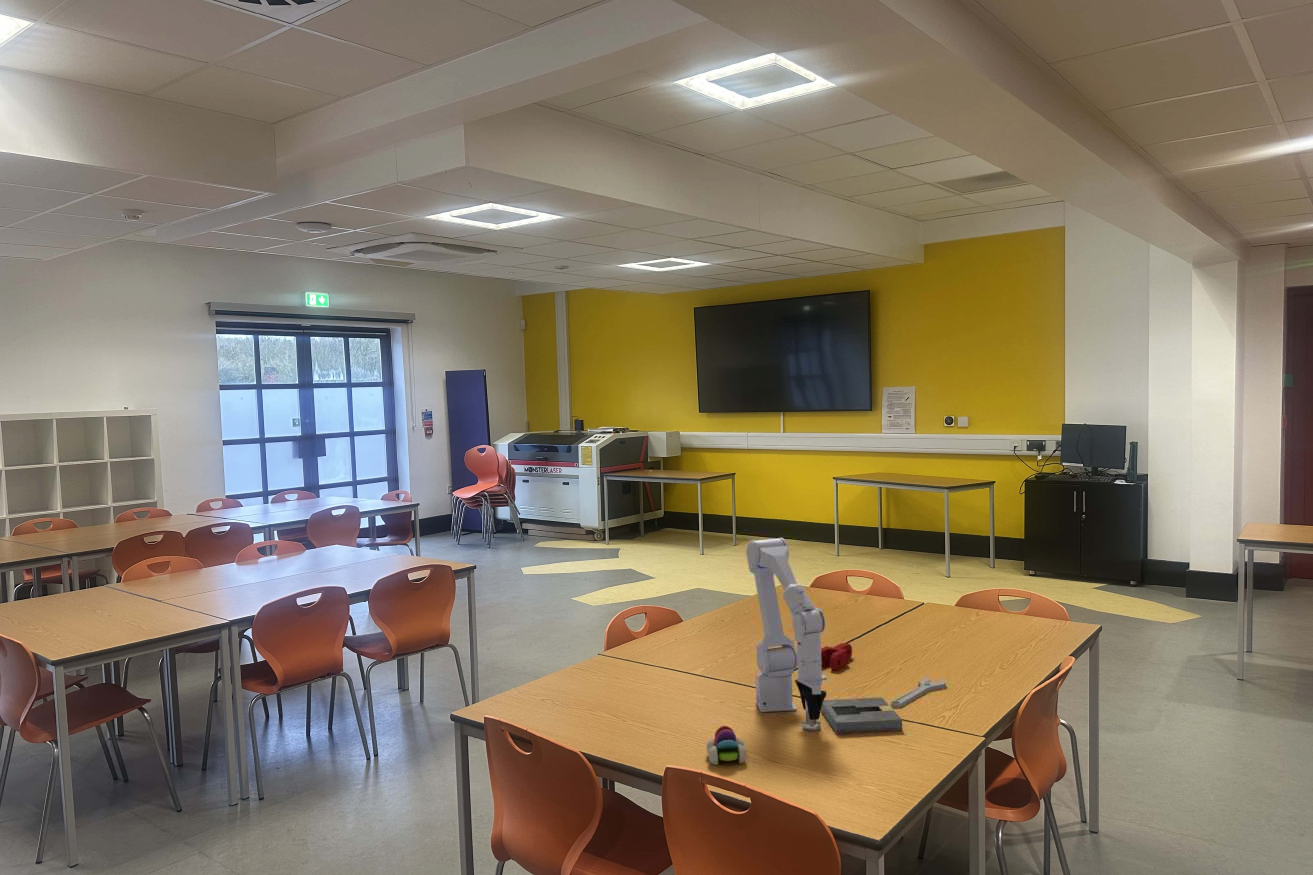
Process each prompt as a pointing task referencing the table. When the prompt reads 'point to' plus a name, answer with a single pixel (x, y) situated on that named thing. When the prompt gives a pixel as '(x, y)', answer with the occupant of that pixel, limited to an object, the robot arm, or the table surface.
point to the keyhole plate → (861, 715)
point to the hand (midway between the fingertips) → (811, 713)
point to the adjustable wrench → (918, 692)
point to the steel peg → (810, 722)
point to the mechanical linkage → (836, 656)
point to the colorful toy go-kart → (726, 746)
